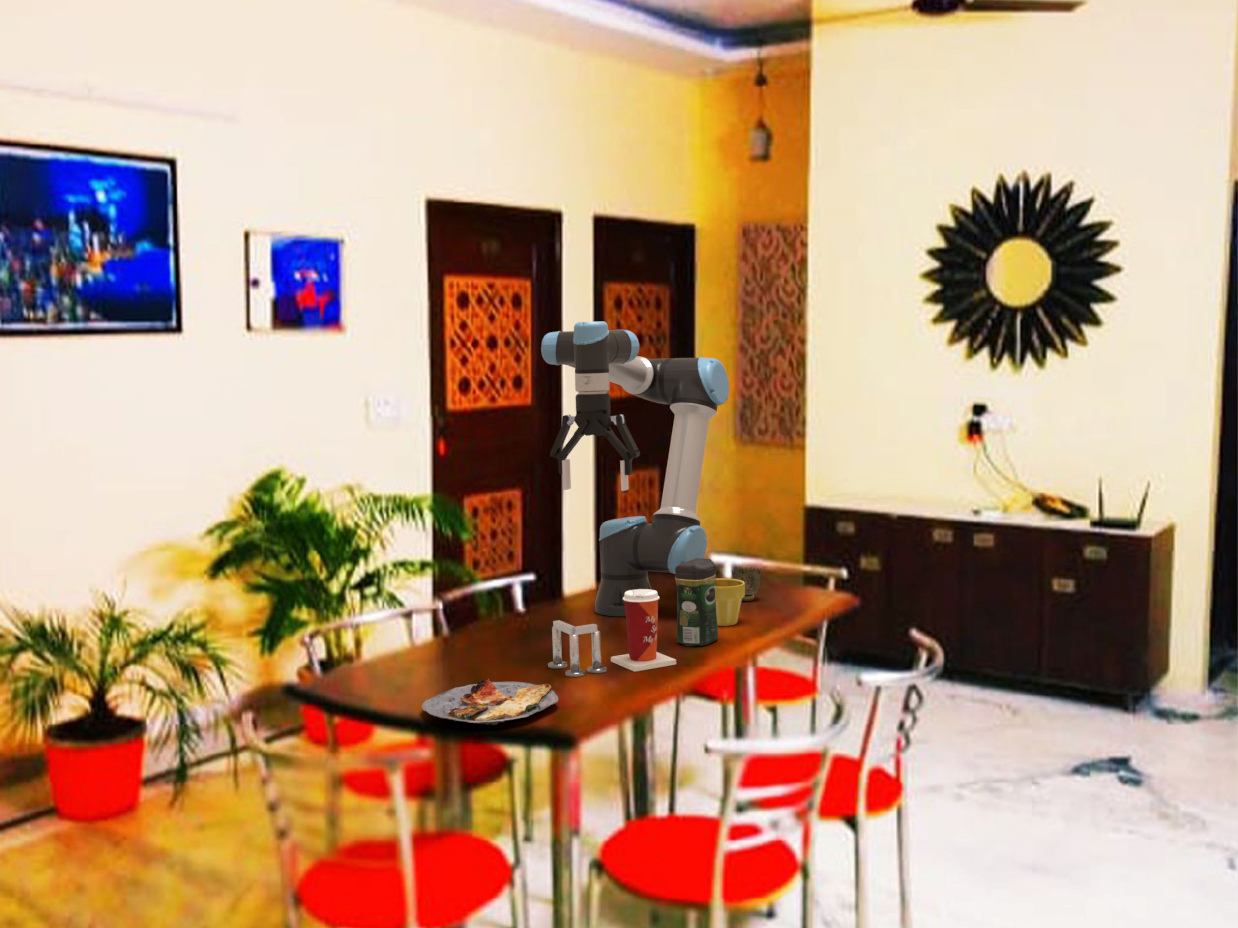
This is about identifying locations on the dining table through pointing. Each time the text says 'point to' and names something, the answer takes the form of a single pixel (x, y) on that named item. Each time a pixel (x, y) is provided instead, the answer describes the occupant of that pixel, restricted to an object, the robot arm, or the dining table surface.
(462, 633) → the dining table surface
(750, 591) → the cup
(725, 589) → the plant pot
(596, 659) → the bent rail
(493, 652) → the dining table surface
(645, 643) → the paper cup
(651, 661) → the cream tile
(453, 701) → the food plate
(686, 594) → the coffee jar
